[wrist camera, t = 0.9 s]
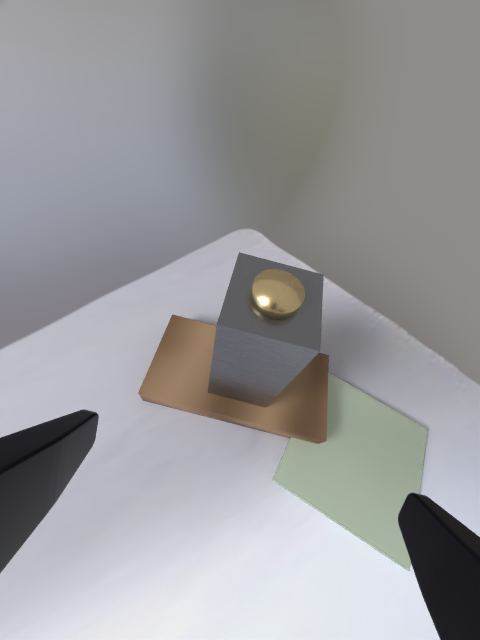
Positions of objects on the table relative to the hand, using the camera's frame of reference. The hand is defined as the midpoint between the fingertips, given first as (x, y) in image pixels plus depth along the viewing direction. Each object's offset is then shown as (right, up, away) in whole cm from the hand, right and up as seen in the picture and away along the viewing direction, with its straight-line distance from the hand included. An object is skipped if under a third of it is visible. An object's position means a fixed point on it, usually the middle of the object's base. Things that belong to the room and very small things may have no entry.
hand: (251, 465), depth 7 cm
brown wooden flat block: (0, -1, +15) cm, 15 cm away
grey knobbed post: (0, 0, +13) cm, 13 cm away
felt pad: (+9, -6, +13) cm, 17 cm away
